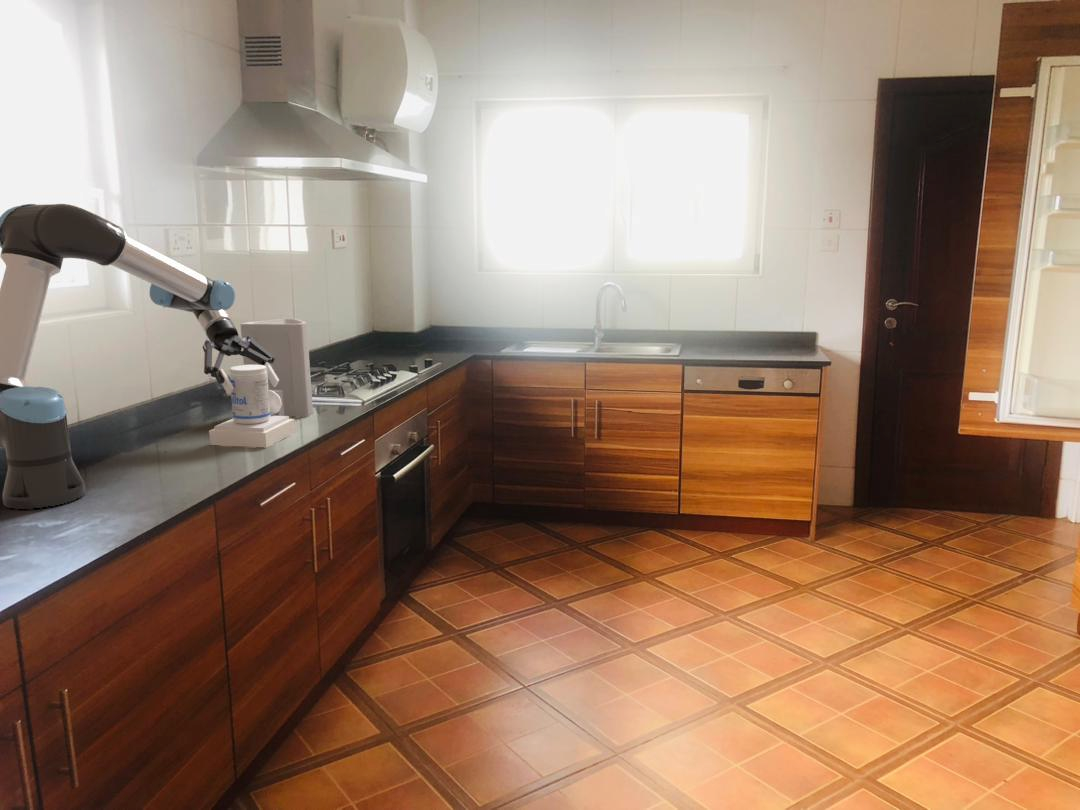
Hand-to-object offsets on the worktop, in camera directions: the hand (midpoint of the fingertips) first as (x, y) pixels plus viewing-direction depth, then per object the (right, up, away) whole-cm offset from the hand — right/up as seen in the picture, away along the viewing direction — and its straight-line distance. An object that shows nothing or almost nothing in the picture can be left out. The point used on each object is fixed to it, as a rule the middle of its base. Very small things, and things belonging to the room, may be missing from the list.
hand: (254, 387), depth 221 cm
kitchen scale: (-1, -13, +6) cm, 15 cm away
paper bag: (-3, -7, +38) cm, 38 cm away
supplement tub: (-2, -9, +3) cm, 10 cm away
